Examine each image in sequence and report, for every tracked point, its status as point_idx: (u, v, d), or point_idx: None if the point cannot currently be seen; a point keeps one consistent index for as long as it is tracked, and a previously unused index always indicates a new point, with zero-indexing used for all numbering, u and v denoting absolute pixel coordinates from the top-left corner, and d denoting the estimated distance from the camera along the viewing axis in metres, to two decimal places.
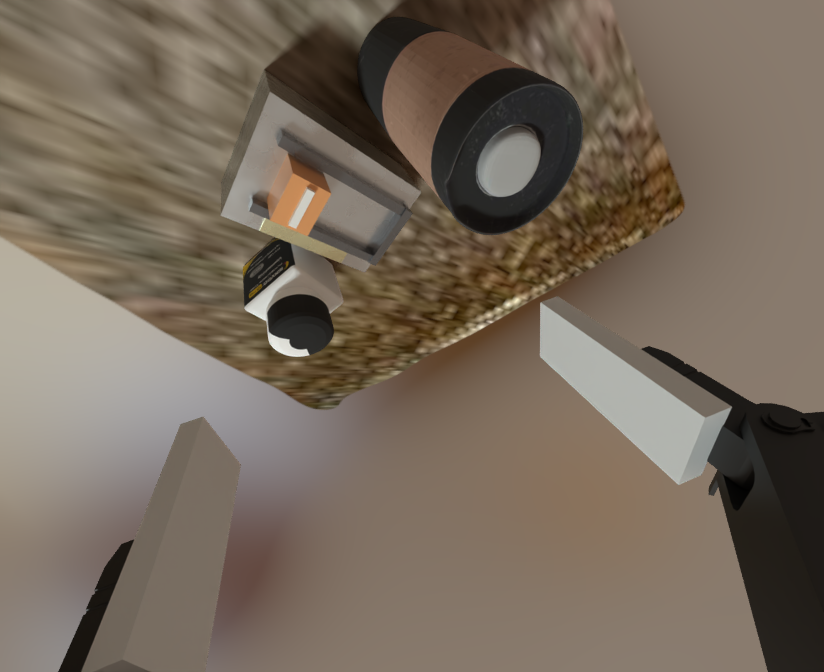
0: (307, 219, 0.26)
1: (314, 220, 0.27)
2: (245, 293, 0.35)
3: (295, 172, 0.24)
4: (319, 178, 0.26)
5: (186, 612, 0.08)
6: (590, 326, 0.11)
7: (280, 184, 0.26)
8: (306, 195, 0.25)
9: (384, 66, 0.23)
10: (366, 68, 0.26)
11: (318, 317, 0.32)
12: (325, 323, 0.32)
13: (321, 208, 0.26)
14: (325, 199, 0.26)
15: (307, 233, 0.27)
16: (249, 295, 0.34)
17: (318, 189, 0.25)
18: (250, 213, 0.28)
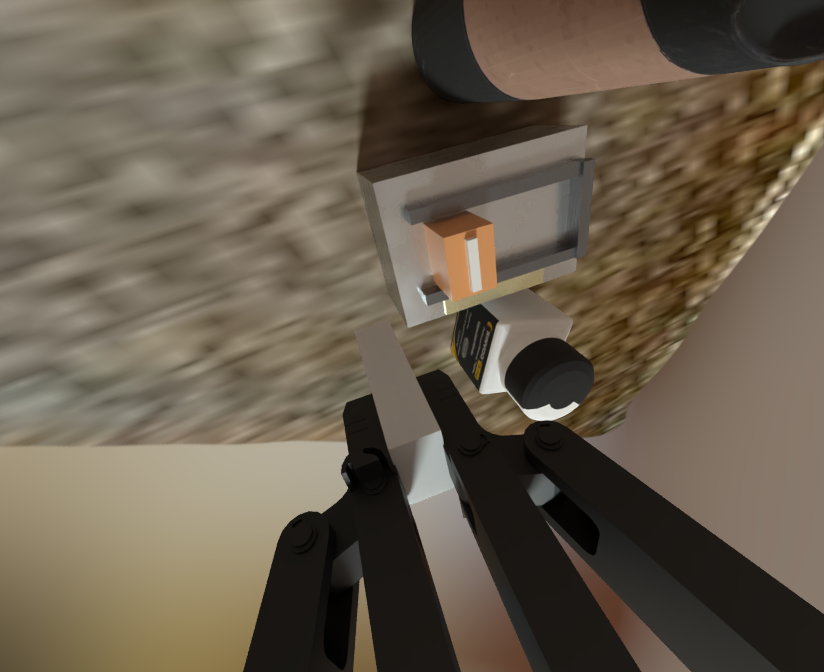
0: (486, 270, 0.20)
1: (494, 265, 0.20)
2: (470, 376, 0.31)
3: (443, 235, 0.19)
4: (468, 219, 0.20)
5: None
6: (392, 350, 0.13)
7: (437, 258, 0.21)
8: (470, 248, 0.19)
9: (454, 29, 0.16)
10: (434, 65, 0.20)
11: (565, 360, 0.24)
12: (577, 362, 0.24)
13: (493, 247, 0.20)
14: (491, 234, 0.19)
15: (495, 284, 0.21)
16: (475, 377, 0.30)
17: (476, 231, 0.19)
18: (429, 306, 0.25)
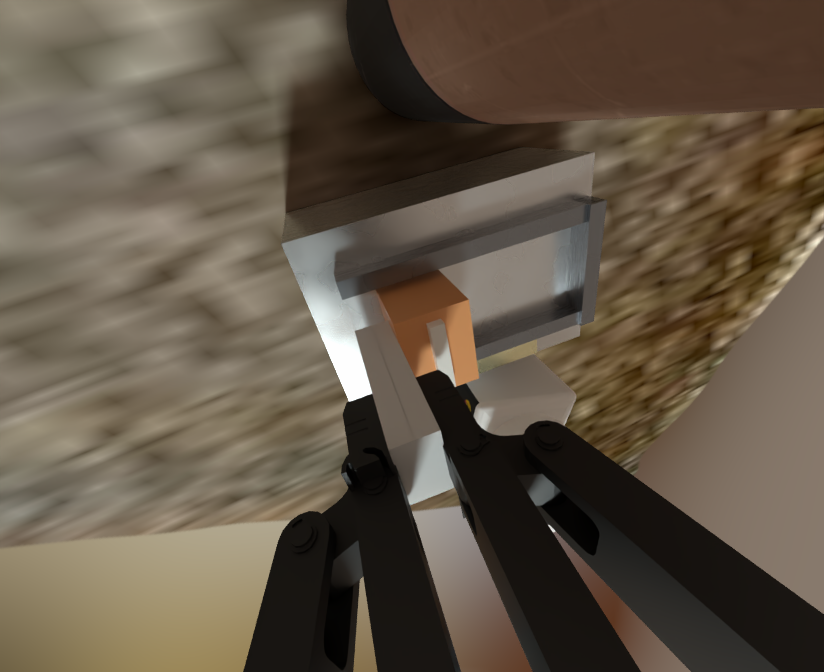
0: (462, 360, 0.14)
1: (472, 353, 0.14)
2: None
3: (396, 317, 0.13)
4: (436, 286, 0.14)
5: None
6: (392, 350, 0.13)
7: None
8: (434, 337, 0.13)
9: (379, 13, 0.10)
10: (372, 70, 0.14)
11: None
12: None
13: (470, 330, 0.14)
14: (466, 314, 0.13)
15: (476, 375, 0.15)
16: None
17: (444, 311, 0.13)
18: None
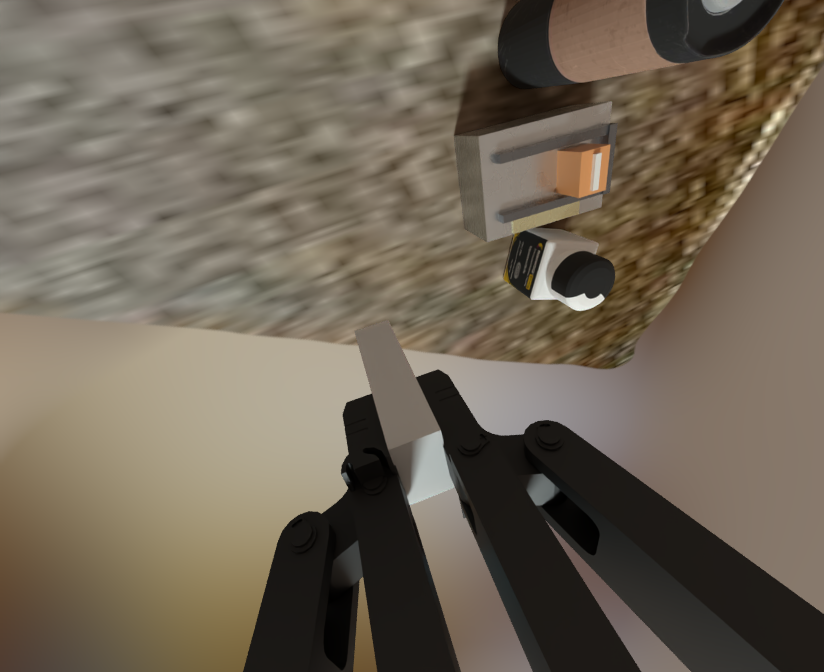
0: (601, 177, 0.33)
1: (606, 174, 0.33)
2: (522, 290, 0.42)
3: (580, 151, 0.31)
4: (590, 145, 0.33)
5: None
6: (392, 350, 0.13)
7: (569, 171, 0.33)
8: (596, 159, 0.31)
9: (539, 41, 0.27)
10: (517, 62, 0.31)
11: (596, 260, 0.35)
12: (604, 262, 0.35)
13: (607, 161, 0.32)
14: (608, 152, 0.32)
15: (604, 187, 0.33)
16: (527, 288, 0.41)
17: (600, 149, 0.31)
18: (502, 226, 0.36)
